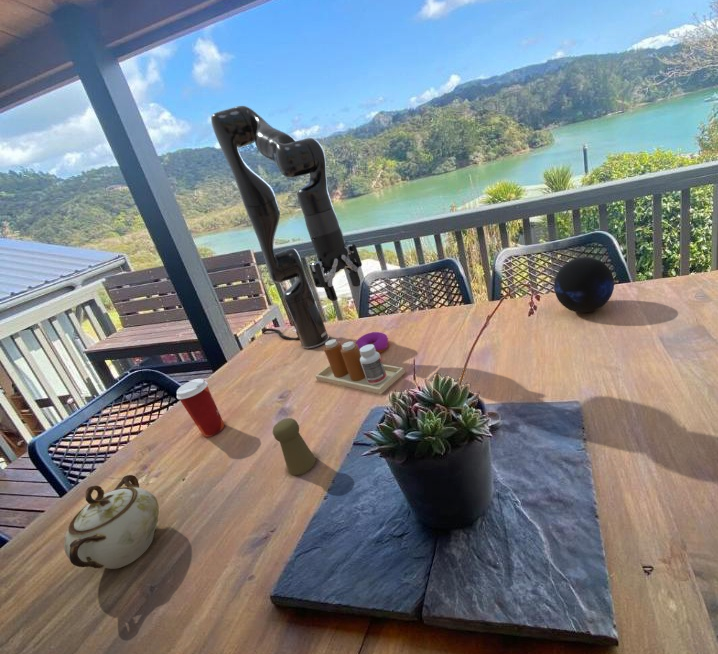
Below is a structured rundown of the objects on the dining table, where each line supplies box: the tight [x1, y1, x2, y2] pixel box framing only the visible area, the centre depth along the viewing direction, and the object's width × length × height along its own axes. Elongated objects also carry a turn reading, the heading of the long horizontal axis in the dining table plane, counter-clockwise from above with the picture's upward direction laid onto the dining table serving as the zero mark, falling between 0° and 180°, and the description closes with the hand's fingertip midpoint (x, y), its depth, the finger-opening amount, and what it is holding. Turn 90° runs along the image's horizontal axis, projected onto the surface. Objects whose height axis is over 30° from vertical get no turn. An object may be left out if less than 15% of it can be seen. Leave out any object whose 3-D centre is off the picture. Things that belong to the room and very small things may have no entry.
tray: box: [314, 364, 406, 395], centre depth 119 cm, size 25×10×2 cm, turn 52°
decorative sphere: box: [553, 256, 615, 314], centre depth 118 cm, size 15×15×15 cm
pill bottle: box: [360, 344, 387, 385], centre depth 113 cm, size 5×5×10 cm
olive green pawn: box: [272, 417, 317, 476], centre depth 89 cm, size 6×6×11 cm
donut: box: [355, 331, 389, 354], centre depth 133 cm, size 10×10×5 cm
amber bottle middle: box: [341, 340, 365, 381], centre depth 117 cm, size 5×5×10 cm
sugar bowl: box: [63, 474, 160, 570], centre depth 79 cm, size 20×15×15 cm
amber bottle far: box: [323, 338, 348, 378], centre depth 122 cm, size 5×5×10 cm
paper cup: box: [176, 378, 225, 438], centre depth 112 cm, size 8×8×14 cm
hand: (345, 292), depth 109 cm, fingers open, 8 cm apart
